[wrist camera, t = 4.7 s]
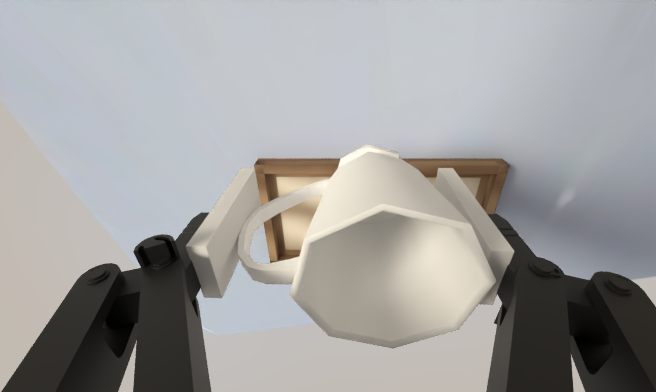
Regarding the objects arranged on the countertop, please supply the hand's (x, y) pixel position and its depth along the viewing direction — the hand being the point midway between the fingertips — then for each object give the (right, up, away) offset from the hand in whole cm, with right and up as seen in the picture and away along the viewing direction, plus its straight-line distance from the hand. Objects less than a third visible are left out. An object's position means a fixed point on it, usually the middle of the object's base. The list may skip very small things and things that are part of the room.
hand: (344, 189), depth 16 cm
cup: (0, 0, +1) cm, 1 cm away
